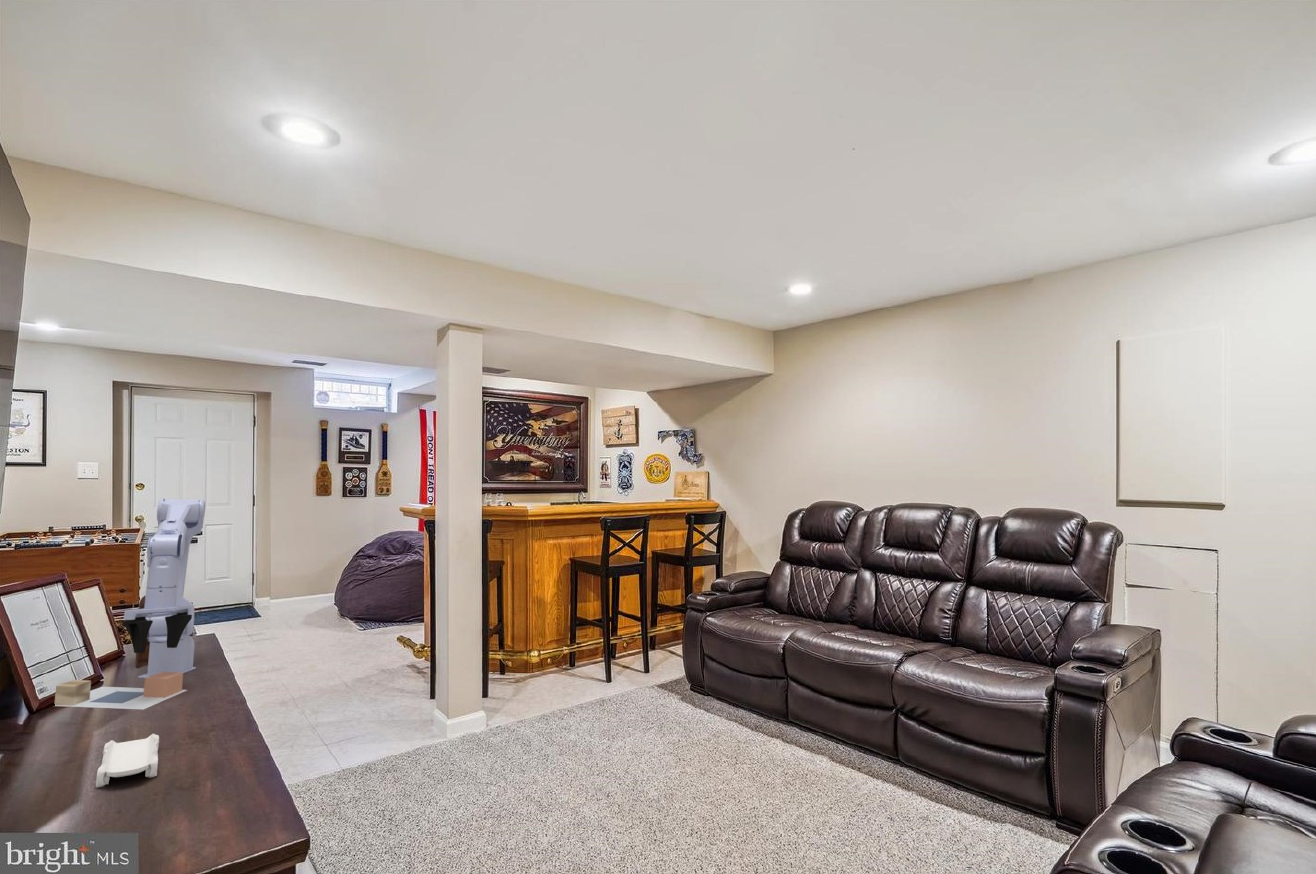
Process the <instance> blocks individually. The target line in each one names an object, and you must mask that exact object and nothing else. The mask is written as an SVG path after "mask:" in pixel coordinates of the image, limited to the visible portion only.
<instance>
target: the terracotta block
mask: <svg viewBox="0 0 1316 874" xmlns="http://www.w3.org/2000/svg"><path fill="white" fill-rule="evenodd" d="M183 679H184V673H178V672H160V673H158V674H155V675H152V676H150V677H147V678H144V685H143V688H144V694H143V697H164V698H166V697H168V696H170V695H173V694H175V693H177V692H179V691H182V690H183V683H184V682H183V681H184V680H183Z"/></svg>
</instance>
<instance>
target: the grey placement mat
mask: <svg viewBox="0 0 1316 874" xmlns="http://www.w3.org/2000/svg"><path fill="white" fill-rule="evenodd" d="M187 691H188V689H182V691H179V692H177V693H175V694H173V695H170V696H168V697H166V698H164V697H143V694H144V687H126V686H125V687H119V686H100V687H98V688H95V689H92V690H91V689H90V699H89V700H87V701H84V702H81V703H79V704H76V705H74V706H69V705H55V706H54V707H67V708H68V707H69V708H71V707H72V708H90V709H91V708H92V709H93V708H95V709H97V708H99V709H120V710H145V709H148V708H151V707H153V706H155V705H157V704H160V703H161V702H164V701H166V700H169V699H170V698H174V697H177V695H180V694H182V693H184V692H187Z"/></svg>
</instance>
